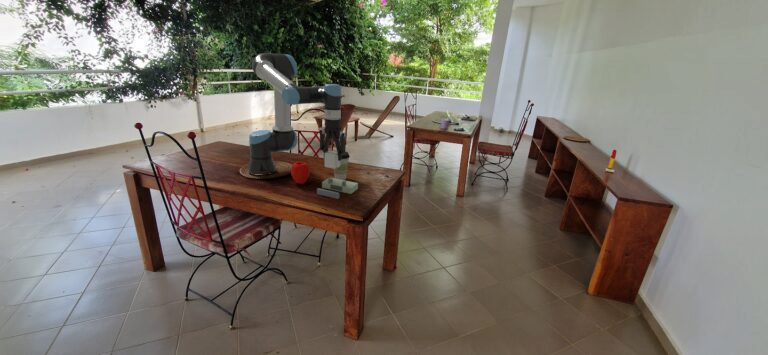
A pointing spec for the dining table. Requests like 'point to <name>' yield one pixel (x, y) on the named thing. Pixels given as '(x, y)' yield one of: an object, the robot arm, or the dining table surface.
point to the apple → (300, 172)
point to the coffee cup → (342, 167)
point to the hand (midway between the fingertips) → (332, 165)
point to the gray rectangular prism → (330, 159)
